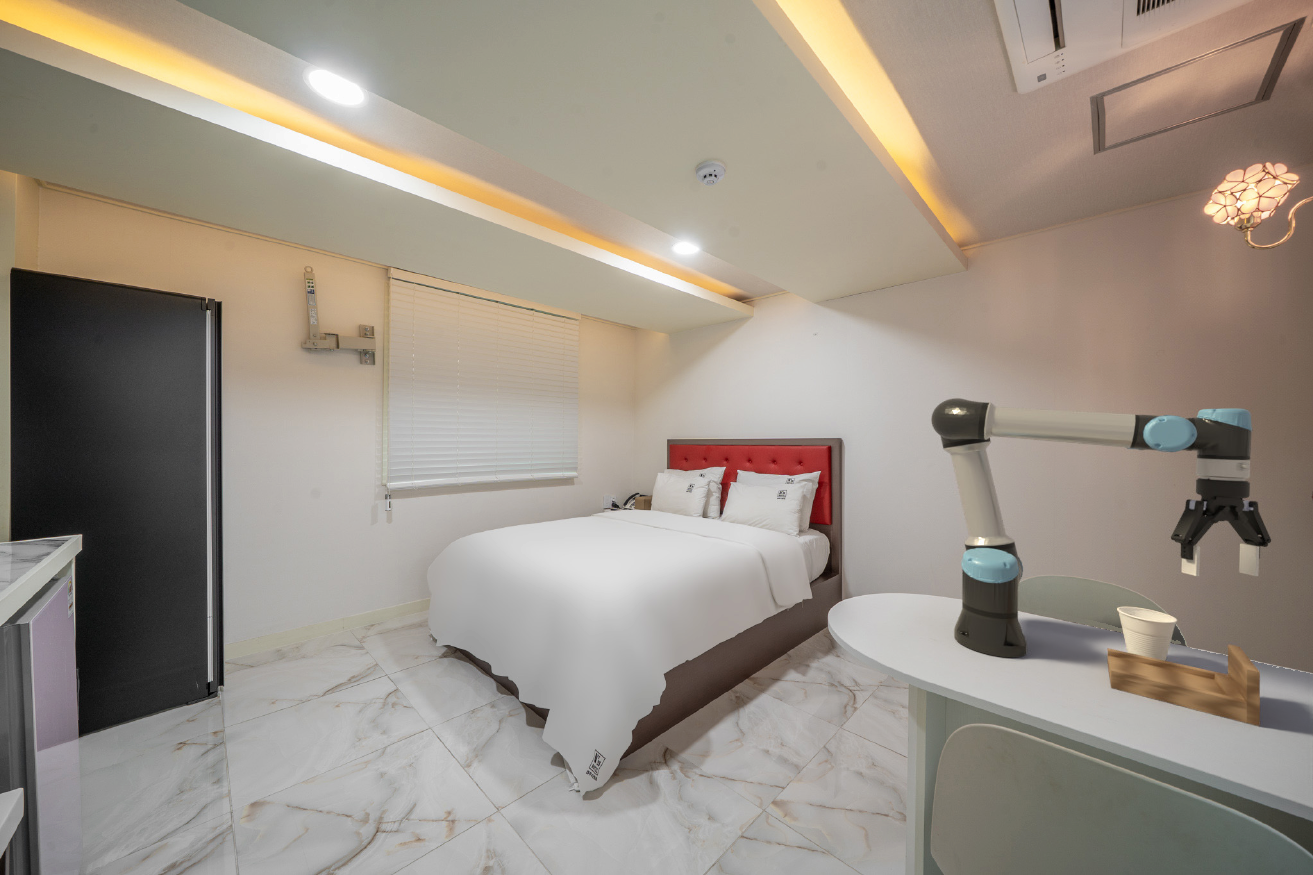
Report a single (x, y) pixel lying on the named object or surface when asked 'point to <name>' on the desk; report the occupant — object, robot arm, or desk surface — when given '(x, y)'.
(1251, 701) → the bracket shelf
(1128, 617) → the cup
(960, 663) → the desk surface
